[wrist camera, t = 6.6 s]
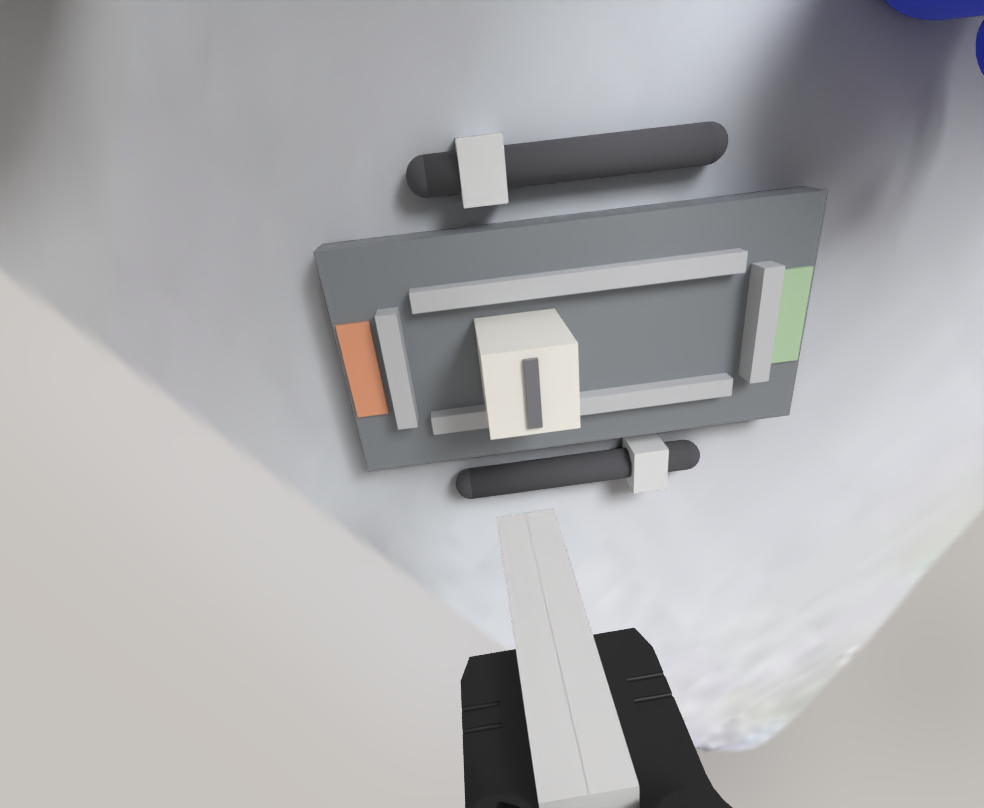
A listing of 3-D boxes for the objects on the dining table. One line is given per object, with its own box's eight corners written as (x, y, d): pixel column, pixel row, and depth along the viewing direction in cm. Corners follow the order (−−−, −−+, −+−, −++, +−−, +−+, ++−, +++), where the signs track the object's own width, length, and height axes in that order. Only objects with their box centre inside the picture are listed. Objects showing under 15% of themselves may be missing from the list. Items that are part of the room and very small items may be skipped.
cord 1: (402, 144, 24) (398, 144, 22) (719, 107, 25) (743, 105, 23) (412, 208, 25) (410, 214, 23) (714, 173, 26) (736, 176, 24)
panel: (322, 244, 26) (307, 256, 23) (801, 186, 26) (845, 192, 24) (372, 452, 31) (365, 483, 28) (769, 399, 32) (801, 425, 29)
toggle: (473, 318, 26) (481, 357, 21) (554, 308, 26) (579, 344, 21) (482, 391, 28) (491, 442, 23) (558, 381, 28) (581, 430, 23)
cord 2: (452, 457, 32) (453, 478, 30) (693, 425, 32) (710, 443, 30) (458, 495, 33) (459, 517, 31) (690, 463, 34) (706, 484, 32)
